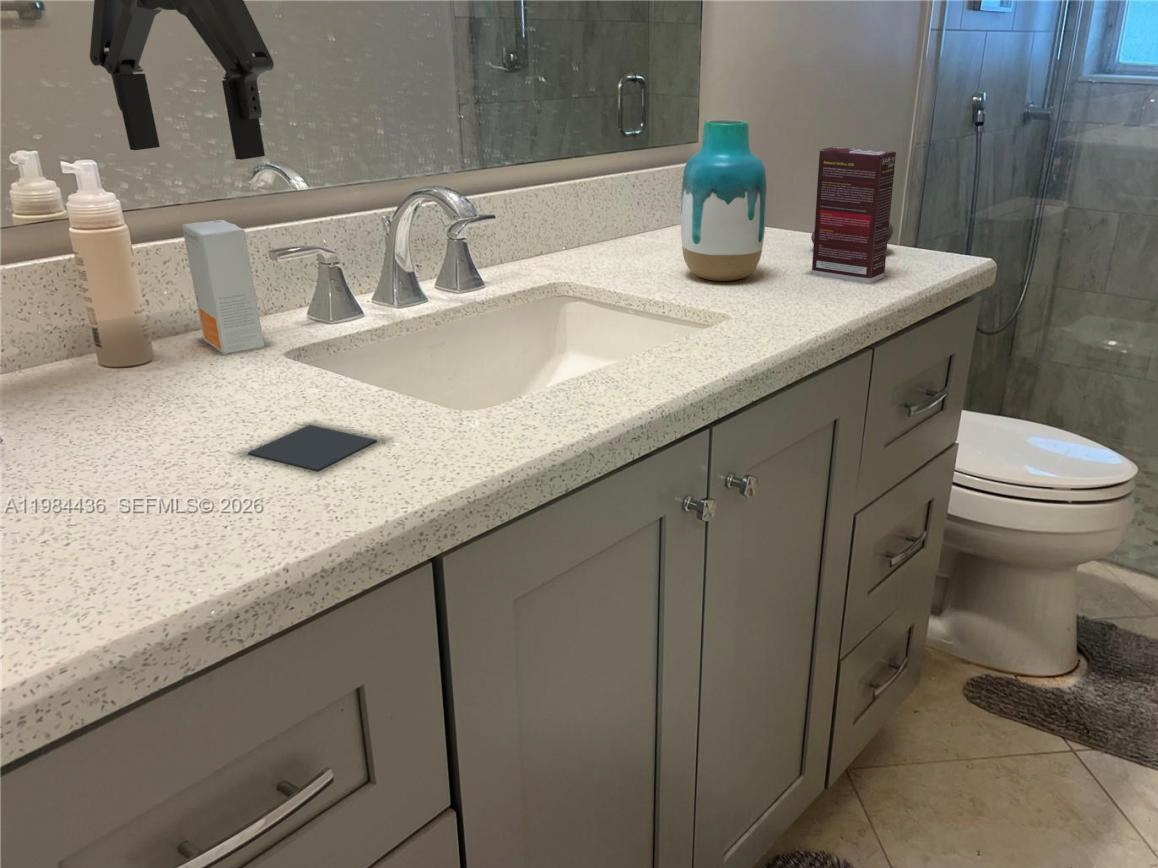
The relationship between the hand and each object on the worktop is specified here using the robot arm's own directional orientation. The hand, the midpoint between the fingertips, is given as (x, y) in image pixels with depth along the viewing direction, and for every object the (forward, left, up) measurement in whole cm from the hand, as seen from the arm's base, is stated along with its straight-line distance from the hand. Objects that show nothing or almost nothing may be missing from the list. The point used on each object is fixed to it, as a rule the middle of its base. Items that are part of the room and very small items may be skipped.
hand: (196, 153), depth 96 cm
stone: (+41, +74, -19) cm, 87 cm away
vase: (+31, +51, -19) cm, 63 cm away
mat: (+26, -16, -19) cm, 36 cm away
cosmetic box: (-1, +1, -19) cm, 19 cm away
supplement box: (+45, +60, -19) cm, 78 cm away
